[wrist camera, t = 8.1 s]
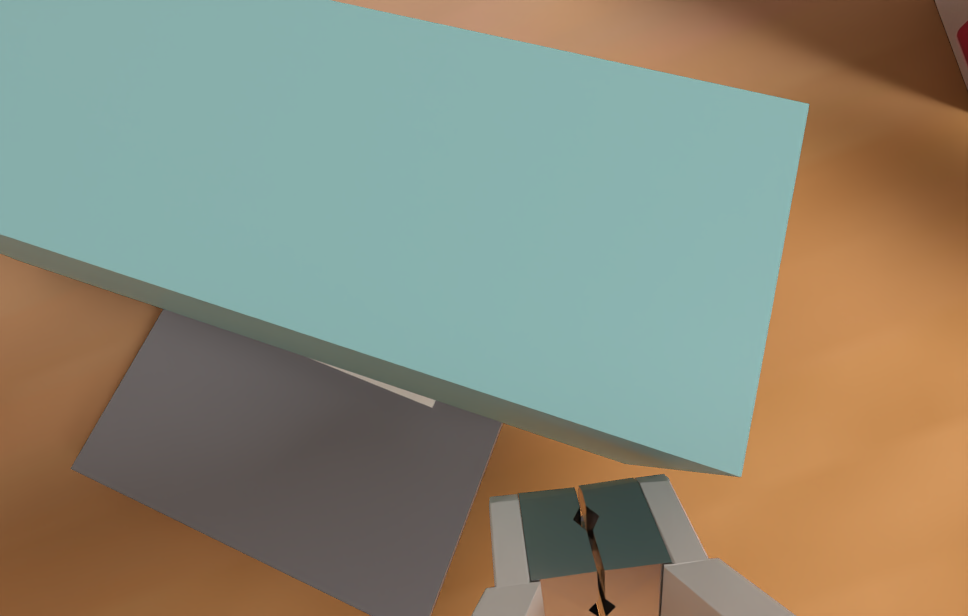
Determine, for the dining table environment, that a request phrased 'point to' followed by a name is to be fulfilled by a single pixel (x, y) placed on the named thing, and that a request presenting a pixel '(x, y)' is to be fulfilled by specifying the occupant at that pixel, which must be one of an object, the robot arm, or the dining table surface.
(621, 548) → the robot arm
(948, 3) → the white tall printed box
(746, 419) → the block
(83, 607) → the dining table surface
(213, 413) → the grey flat rectangular block
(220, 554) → the dining table surface
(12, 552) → the dining table surface
